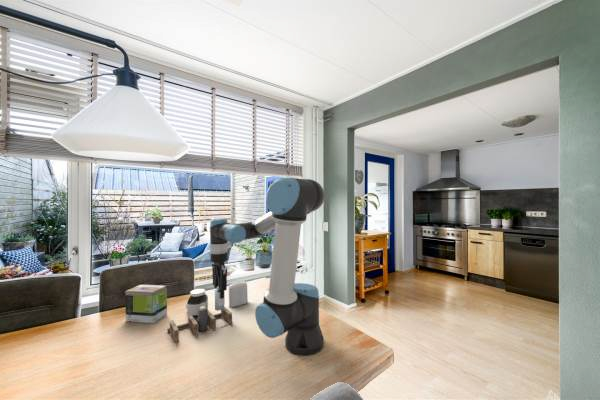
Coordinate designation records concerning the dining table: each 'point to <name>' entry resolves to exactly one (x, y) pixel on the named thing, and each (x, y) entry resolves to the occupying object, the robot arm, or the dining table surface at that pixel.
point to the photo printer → (238, 294)
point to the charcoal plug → (202, 319)
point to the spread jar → (196, 302)
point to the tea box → (146, 303)
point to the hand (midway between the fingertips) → (219, 303)
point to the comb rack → (194, 324)
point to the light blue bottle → (217, 300)
